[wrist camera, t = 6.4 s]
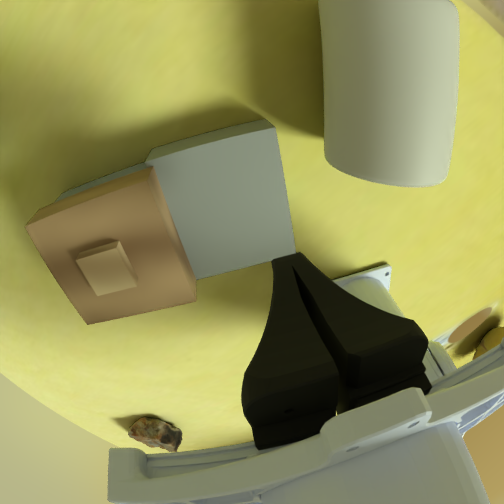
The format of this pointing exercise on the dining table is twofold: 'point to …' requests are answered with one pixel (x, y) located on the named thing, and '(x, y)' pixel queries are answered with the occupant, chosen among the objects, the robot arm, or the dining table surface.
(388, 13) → the mug
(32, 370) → the dining table surface
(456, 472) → the robot arm
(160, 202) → the lid
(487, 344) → the fruit
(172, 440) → the rock
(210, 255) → the stand
